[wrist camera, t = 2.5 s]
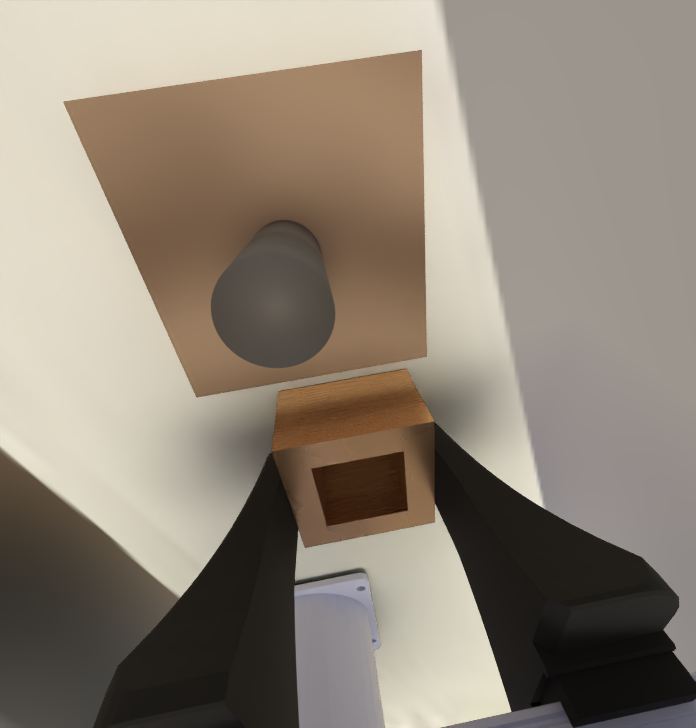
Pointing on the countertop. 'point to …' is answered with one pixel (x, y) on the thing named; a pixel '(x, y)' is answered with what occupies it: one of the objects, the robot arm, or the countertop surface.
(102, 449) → the countertop surface
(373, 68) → the peg board
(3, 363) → the countertop surface
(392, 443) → the collar
